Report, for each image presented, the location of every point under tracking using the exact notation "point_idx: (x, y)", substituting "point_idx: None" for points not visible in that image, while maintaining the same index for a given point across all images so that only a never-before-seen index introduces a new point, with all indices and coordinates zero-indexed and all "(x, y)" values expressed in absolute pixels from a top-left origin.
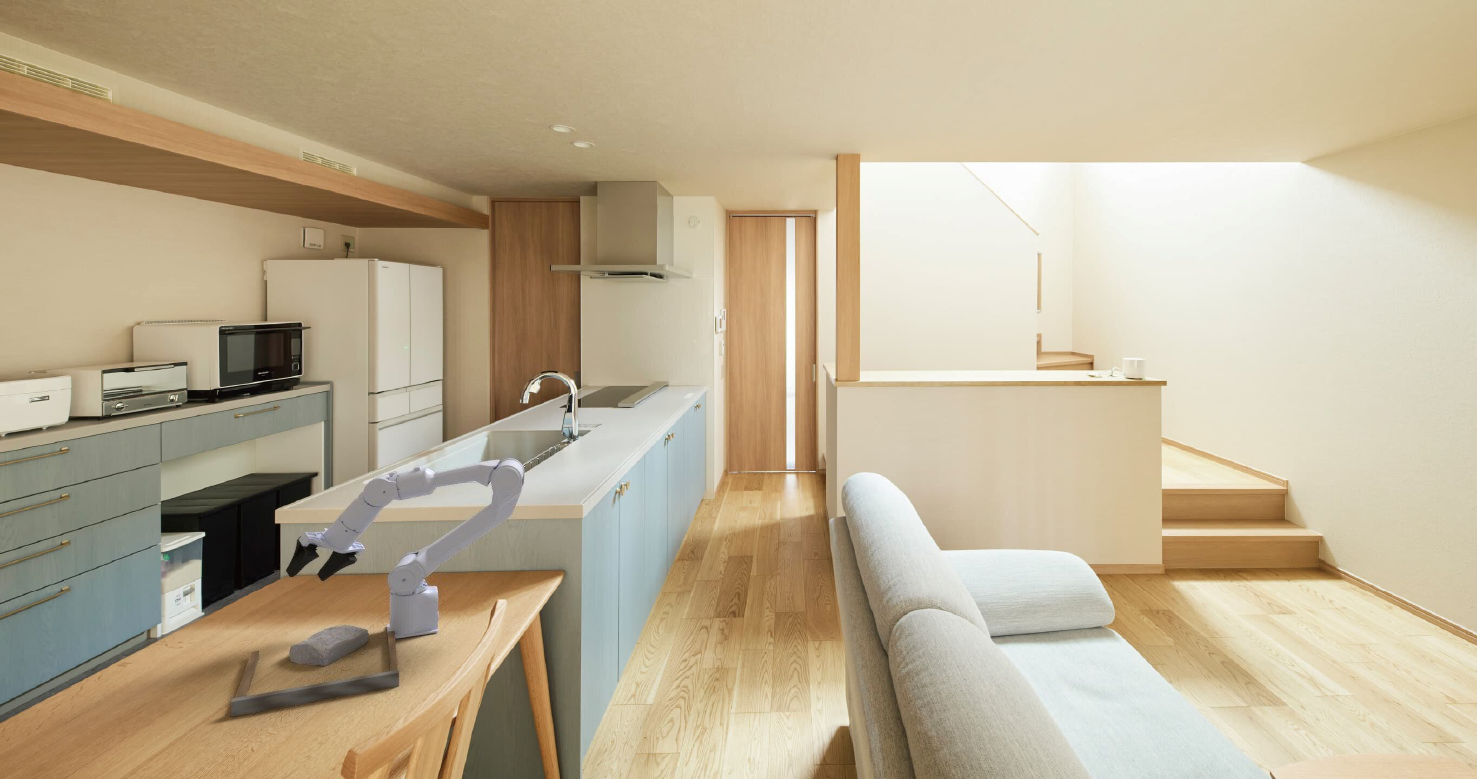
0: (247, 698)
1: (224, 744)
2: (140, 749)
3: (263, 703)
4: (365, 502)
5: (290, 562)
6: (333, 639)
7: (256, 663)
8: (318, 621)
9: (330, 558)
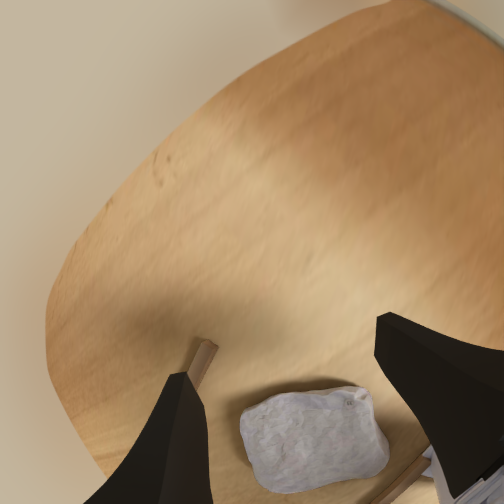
0: None
1: None
2: (92, 439)
3: None
4: None
5: (154, 412)
6: (294, 481)
7: (200, 380)
8: (391, 240)
9: (450, 378)
